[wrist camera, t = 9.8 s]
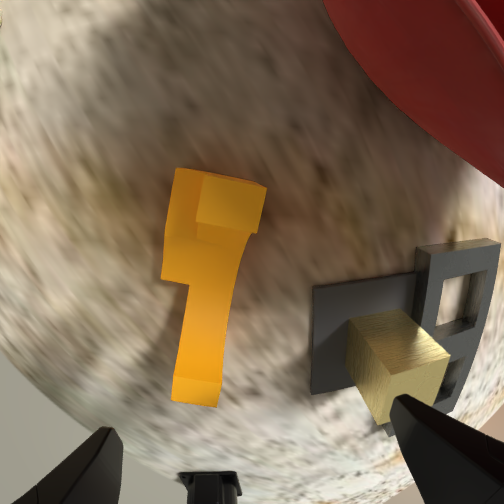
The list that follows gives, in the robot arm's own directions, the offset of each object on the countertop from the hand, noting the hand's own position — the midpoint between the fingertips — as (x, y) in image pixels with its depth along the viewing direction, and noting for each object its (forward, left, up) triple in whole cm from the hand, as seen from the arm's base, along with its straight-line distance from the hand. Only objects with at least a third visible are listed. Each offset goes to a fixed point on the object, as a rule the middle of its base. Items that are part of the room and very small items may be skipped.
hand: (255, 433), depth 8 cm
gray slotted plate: (-9, -18, -12) cm, 24 cm away
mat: (-6, -10, -12) cm, 17 cm away
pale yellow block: (-6, -10, -12) cm, 17 cm away
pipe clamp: (+1, +2, -13) cm, 13 cm away
